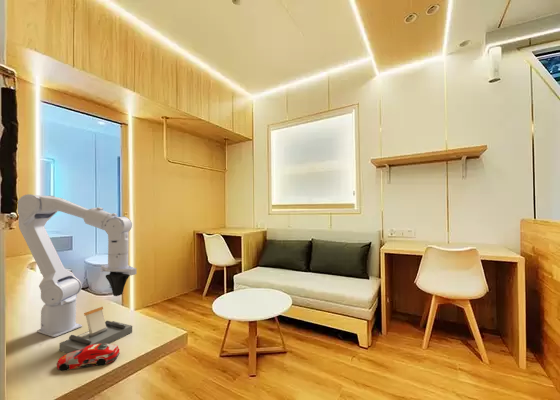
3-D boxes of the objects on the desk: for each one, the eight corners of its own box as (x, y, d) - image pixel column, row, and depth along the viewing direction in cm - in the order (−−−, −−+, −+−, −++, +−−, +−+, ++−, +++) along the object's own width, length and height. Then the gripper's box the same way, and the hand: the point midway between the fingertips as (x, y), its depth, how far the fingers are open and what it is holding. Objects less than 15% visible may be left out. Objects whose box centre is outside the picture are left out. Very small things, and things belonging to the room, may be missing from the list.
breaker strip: (59, 350, 71) (59, 338, 71) (112, 327, 85) (113, 317, 85) (80, 357, 68) (80, 345, 68) (132, 332, 82) (132, 321, 82)
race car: (51, 374, 62) (51, 357, 62) (64, 361, 67) (64, 345, 67) (113, 365, 65) (114, 349, 65) (121, 353, 70) (121, 338, 70)
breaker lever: (88, 337, 75) (83, 313, 76) (105, 330, 79) (100, 307, 80) (91, 336, 74) (86, 312, 75) (108, 329, 79) (103, 306, 80)
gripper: (91, 254, 85) (90, 296, 85) (122, 257, 79) (121, 302, 79) (112, 250, 91) (112, 289, 91) (142, 253, 86) (141, 295, 85)
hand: (117, 295), depth 85 cm, fingers closed
